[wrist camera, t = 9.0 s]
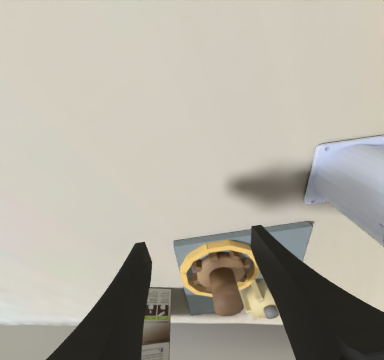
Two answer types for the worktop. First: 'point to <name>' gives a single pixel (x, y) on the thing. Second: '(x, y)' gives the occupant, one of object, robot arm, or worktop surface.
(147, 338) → the coffee box
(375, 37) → the worktop surface
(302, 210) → the worktop surface
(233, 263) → the planet gear
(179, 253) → the carrier plate
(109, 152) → the worktop surface
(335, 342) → the robot arm
